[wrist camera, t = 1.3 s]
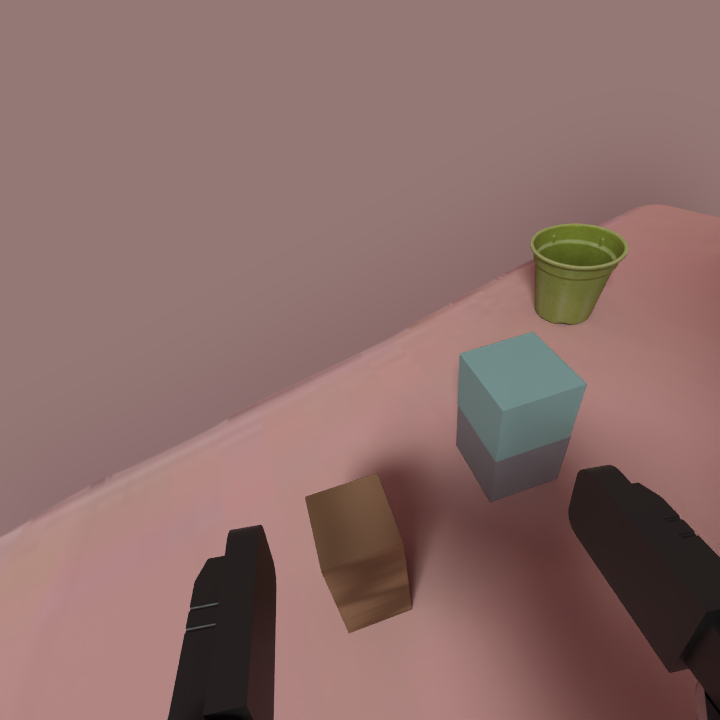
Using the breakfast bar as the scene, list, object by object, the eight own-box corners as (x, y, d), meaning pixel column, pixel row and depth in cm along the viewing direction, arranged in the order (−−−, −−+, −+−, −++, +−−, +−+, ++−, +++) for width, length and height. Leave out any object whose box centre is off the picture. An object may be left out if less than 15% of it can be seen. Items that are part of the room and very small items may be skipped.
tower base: (516, 425, 39) (524, 383, 36) (556, 478, 35) (570, 436, 31) (456, 445, 39) (458, 404, 35) (490, 502, 34) (496, 462, 31)
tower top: (523, 383, 36) (533, 331, 32) (570, 436, 31) (586, 383, 28) (457, 404, 35) (459, 353, 31) (495, 462, 31) (502, 411, 27)
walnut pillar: (390, 547, 32) (377, 473, 26) (411, 609, 29) (403, 542, 23) (333, 567, 32) (304, 497, 25) (348, 633, 29) (321, 571, 22)
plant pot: (625, 313, 49) (650, 243, 43) (566, 346, 46) (584, 276, 40) (559, 280, 56) (572, 215, 50) (503, 307, 53) (511, 242, 47)
